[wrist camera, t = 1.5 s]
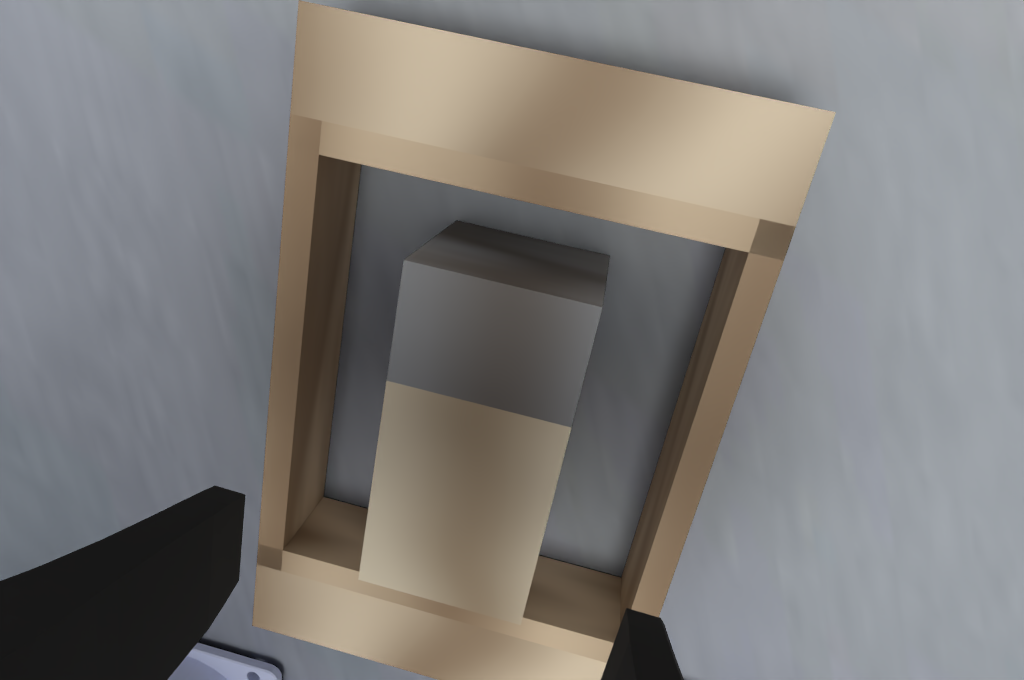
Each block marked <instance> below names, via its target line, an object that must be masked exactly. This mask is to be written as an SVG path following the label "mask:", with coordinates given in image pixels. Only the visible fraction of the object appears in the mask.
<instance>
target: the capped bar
mask: <svg viewBox="0 0 1024 680" xmlns="http://www.w3.org/2000/svg"><path fill="white" fill-rule="evenodd" d="M609 258H610V256H608V255H604V254H600V253H596V252H591V251H587V250H583V249H578V248H574V247H570V246H565V245H561V244H557V243H552V242H548V241H544V240H540V239H535V238H531V237H527V236H522V235H518V234H514V233H509V232H505V231H501V230H496V229H492V228H488V227H484V226H479V225H475V224H471V223H466V222H462V221H458V220H457V221H455V222H454V223H453V224H451V225H450V226H449V227H447V228H446V229H445V230H443V231H442V232H441V233H439V234H438V235H436V236H435V237H434V238H432V239H431V240H430V241H428V242H427V243H426V244H424V245H423V246H422V247H420V248H419V249H418V250H416V251H415V252H414V253H412V254H411V255H410V256H408V257H407V258H406V259H404V261H403V268H402V275H401V282H400V289H399V296H398V303H397V311H396V318H395V325H394V332H393V339H392V346H391V353H390V360H389V367H388V374H387V381H386V388H385V395H384V402H383V409H382V416H381V423H380V430H379V437H378V444H377V451H376V458H375V465H374V472H373V479H372V486H371V493H370V500H369V507H368V514H367V521H366V528H365V535H364V542H363V549H362V556H361V563H360V570H359V577H358V580H361V581H365V582H369V583H372V584H376V585H379V586H383V587H386V588H390V589H394V590H397V591H401V592H404V593H408V594H411V595H415V596H419V597H422V598H426V599H429V600H433V601H436V602H440V603H444V604H447V605H451V606H454V607H458V608H461V609H465V610H469V611H472V612H476V613H479V614H483V615H486V616H490V617H494V618H497V619H501V620H504V621H508V622H511V623H515V624H518V625H521V622H522V618H523V614H524V610H525V606H526V602H527V598H528V594H529V591H530V587H531V583H532V579H533V575H534V571H535V567H536V564H537V560H538V556H539V552H540V548H541V544H542V540H543V536H544V533H545V529H546V525H547V521H548V517H549V513H550V509H551V505H552V502H553V498H554V494H555V490H556V486H557V482H558V478H559V474H560V471H561V467H562V463H563V459H564V455H565V451H566V447H567V443H568V440H569V436H570V432H571V428H572V424H573V420H574V416H575V413H576V409H577V405H578V401H579V397H580V393H581V389H582V385H583V382H584V378H585V374H586V370H587V366H588V362H589V358H590V354H591V351H592V347H593V343H594V339H595V335H596V331H597V327H598V323H599V320H600V316H601V312H602V308H603V301H604V294H605V287H606V280H607V273H608V266H609Z"/></svg>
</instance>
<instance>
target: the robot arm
mask: <svg viewBox="0 0 1024 680" xmlns="http://www.w3.org/2000/svg"><path fill="white" fill-rule="evenodd" d="M244 505H245V494H241V493H238V492H234V491H231V490H228V489H224V488H221V487H218V486H213V487H211V488H209V489H206V490H204V491H202V492H200V493H198V494H196V495H194V496H192V497H190V498H187V499H185V500H183V501H181V502H179V503H177V504H175V505H173V506H171V507H169V508H167V509H165V510H163V511H161V512H159V513H157V514H155V515H153V516H151V517H149V518H147V519H145V520H142V521H140V522H138V523H136V524H134V525H132V526H130V527H128V528H126V529H124V530H121V531H119V532H117V533H115V534H113V535H111V536H109V537H107V538H104V539H102V540H100V541H98V542H95V543H93V544H91V545H88V546H86V547H84V548H81V549H79V550H77V551H74V552H72V553H70V554H67V555H65V556H63V557H60V558H58V559H56V560H53V561H51V562H49V563H46V564H44V565H42V566H39V567H36V568H34V569H31V570H29V571H26V572H24V573H21V574H18V575H16V576H13V577H10V578H8V579H5V580H2V581H0V680H282V674H281V672H280V670H279V669H278V668H277V667H276V666H274V665H272V664H269V663H266V662H262V661H259V660H255V659H252V658H249V657H245V656H242V655H239V654H235V653H232V652H228V651H225V650H222V649H218V648H215V647H211V646H208V645H205V644H201V643H198V641H199V640H200V639H201V638H202V636H203V635H204V634H205V633H206V631H207V630H208V629H209V627H210V626H211V624H212V623H213V621H214V619H215V618H216V616H217V615H218V613H219V612H220V610H221V609H222V607H223V606H224V604H225V602H226V601H227V599H228V597H229V596H230V594H231V592H232V591H233V589H234V588H235V586H236V584H237V583H238V581H239V572H240V558H241V545H242V531H243V518H244ZM601 680H684V679H683V677H682V674H681V671H680V669H679V666H678V663H677V660H676V658H675V655H674V652H673V649H672V646H671V643H670V640H669V637H668V634H667V631H666V628H665V625H664V623H663V621H662V620H661V618H659V617H656V616H652V615H649V614H645V613H642V612H639V611H635V610H632V609H629V608H626V610H625V613H624V616H623V619H622V622H621V624H620V627H619V630H618V633H617V636H616V638H615V641H614V644H613V647H612V650H611V652H610V655H609V658H608V661H607V664H606V666H605V669H604V672H603V675H602V678H601Z"/></svg>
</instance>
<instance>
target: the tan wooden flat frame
mask: <svg viewBox="0 0 1024 680" xmlns="http://www.w3.org/2000/svg"><path fill="white" fill-rule="evenodd" d="M835 113H836V112H832V111H827V110H822V109H817V108H812V107H808V106H803V105H798V104H793V103H788V102H784V101H779V100H774V99H769V98H765V97H760V96H755V95H750V94H745V93H741V92H736V91H731V90H726V89H721V88H717V87H712V86H707V85H702V84H697V83H693V82H688V81H683V80H678V79H673V78H669V77H664V76H659V75H654V74H650V73H645V72H640V71H635V70H630V69H626V68H621V67H616V66H611V65H606V64H602V63H597V62H592V61H587V60H582V59H578V58H573V57H568V56H563V55H559V54H554V53H549V52H544V51H539V50H535V49H530V48H525V47H520V46H515V45H511V44H506V43H501V42H496V41H491V40H487V39H482V38H477V37H472V36H468V35H463V34H458V33H453V32H448V31H444V30H439V29H434V28H429V27H424V26H420V25H415V24H410V23H405V22H400V21H396V20H391V19H386V18H381V17H377V16H372V15H367V14H362V13H357V12H353V11H348V10H343V9H338V8H333V7H329V6H324V5H319V4H314V3H309V2H305V1H300V0H299V4H298V18H297V31H296V44H295V58H294V71H293V85H292V98H291V112H290V125H289V138H288V152H287V165H286V179H285V192H284V206H283V219H282V232H281V246H280V259H279V273H278V286H277V300H276V313H275V326H274V340H273V353H272V367H271V380H270V394H269V407H268V420H267V434H266V447H265V461H264V474H263V488H262V501H261V514H260V528H259V541H258V555H257V568H256V582H255V595H254V608H253V622H252V626H256V627H259V628H262V629H266V630H269V631H273V632H276V633H280V634H283V635H287V636H290V637H293V638H297V639H300V640H304V641H307V642H311V643H314V644H318V645H321V646H324V647H328V648H331V649H335V650H338V651H342V652H345V653H348V654H352V655H355V656H359V657H362V658H366V659H369V660H373V661H376V662H379V663H383V664H386V665H390V666H393V667H397V668H400V669H404V670H407V671H410V672H414V673H417V674H421V675H424V676H428V677H431V678H435V679H438V680H601V678H602V675H603V672H604V669H605V666H606V664H607V661H608V658H609V655H610V652H611V650H612V647H613V644H614V641H615V638H616V636H617V633H618V630H619V627H620V624H621V622H622V619H623V616H624V613H625V610H626V608H629V609H632V610H635V611H639V612H642V613H645V614H649V615H652V616H656V617H659V615H660V612H661V609H662V606H663V603H664V600H665V598H666V595H667V592H668V589H669V586H670V583H671V581H672V578H673V575H674V572H675V569H676V566H677V563H678V561H679V558H680V555H681V552H682V549H683V546H684V543H685V541H686V538H687V535H688V532H689V529H690V526H691V524H692V521H693V518H694V515H695V512H696V509H697V506H698V504H699V501H700V498H701V495H702V492H703V489H704V486H705V484H706V481H707V478H708V475H709V472H710V469H711V467H712V464H713V461H714V458H715V455H716V452H717V449H718V447H719V444H720V441H721V438H722V435H723V432H724V429H725V427H726V424H727V421H728V418H729V415H730V412H731V410H732V407H733V404H734V401H735V398H736V395H737V392H738V390H739V387H740V384H741V381H742V378H743V375H744V372H745V370H746V367H747V364H748V361H749V358H750V355H751V353H752V350H753V347H754V344H755V341H756V338H757V335H758V333H759V330H760V327H761V324H762V321H763V318H764V315H765V313H766V310H767V307H768V304H769V301H770V298H771V296H772V293H773V290H774V287H775V284H776V281H777V278H778V276H779V273H780V270H781V267H782V264H783V261H784V258H785V256H786V253H787V250H788V247H789V244H790V241H791V239H792V236H793V233H794V230H795V227H796V224H797V221H798V219H799V216H800V213H801V210H802V207H803V204H804V201H805V199H806V196H807V193H808V190H809V187H810V184H811V182H812V179H813V176H814V173H815V170H816V167H817V164H818V162H819V159H820V156H821V153H822V150H823V147H824V144H825V142H826V139H827V136H828V133H829V130H830V127H831V125H832V122H833V119H834V116H835ZM361 164H362V165H367V166H371V167H375V168H380V169H384V170H389V171H393V172H397V173H402V174H406V175H411V176H415V177H419V178H424V179H428V180H432V181H437V182H441V183H446V184H450V185H454V186H459V187H463V188H468V189H472V190H476V191H481V192H485V193H489V194H494V195H498V196H503V197H507V198H511V199H516V200H520V201H525V202H529V203H533V204H538V205H542V206H547V207H551V208H555V209H560V210H564V211H568V212H573V213H577V214H582V215H586V216H590V217H595V218H599V219H604V220H608V221H612V222H617V223H621V224H626V225H630V226H634V227H639V228H643V229H647V230H652V231H656V232H661V233H665V234H669V235H674V236H678V237H683V238H687V239H691V240H696V241H700V242H704V243H709V244H713V245H718V246H722V247H726V249H725V252H724V255H723V258H722V261H721V264H720V268H719V271H718V274H717V277H716V280H715V283H714V287H713V290H712V293H711V296H710V299H709V302H708V305H707V309H706V312H705V315H704V318H703V321H702V324H701V328H700V331H699V334H698V337H697V340H696V343H695V347H694V350H693V353H692V356H691V359H690V362H689V365H688V369H687V372H686V375H685V378H684V381H683V384H682V388H681V391H680V394H679V397H678V400H677V403H676V406H675V410H674V413H673V416H672V419H671V422H670V425H669V429H668V432H667V435H666V438H665V441H664V444H663V447H662V451H661V454H660V457H659V460H658V463H657V466H656V470H655V473H654V476H653V479H652V482H651V485H650V489H649V492H648V495H647V498H646V501H645V504H644V507H643V511H642V514H641V517H640V520H639V523H638V526H637V530H636V533H635V536H634V539H633V542H632V545H631V548H630V552H629V555H628V558H627V561H626V564H625V567H624V571H623V574H622V577H621V578H620V577H617V576H613V575H609V574H606V573H602V572H598V571H595V570H591V569H587V568H584V567H580V566H576V565H572V564H569V563H565V562H561V561H558V560H554V559H550V558H547V557H543V556H538V560H537V564H536V567H535V571H534V575H533V579H532V583H531V587H530V591H529V594H528V598H527V602H526V606H525V610H524V614H523V618H522V622H521V625H518V624H515V623H511V622H508V621H504V620H501V619H497V618H494V617H490V616H486V615H483V614H479V613H476V612H472V611H469V610H465V609H461V608H458V607H454V606H451V605H447V604H444V603H440V602H436V601H433V600H429V599H426V598H422V597H419V596H415V595H411V594H408V593H404V592H401V591H397V590H394V589H390V588H386V587H383V586H379V585H376V584H372V583H369V582H365V581H361V580H358V577H359V570H360V563H361V556H362V549H363V542H364V535H365V528H366V521H367V514H368V509H366V508H362V507H359V506H355V505H351V504H348V503H344V502H340V501H337V500H333V499H329V498H326V497H324V488H325V479H326V470H327V462H328V453H329V444H330V435H331V426H332V418H333V409H334V400H335V391H336V382H337V373H338V365H339V356H340V347H341V338H342V329H343V320H344V312H345V303H346V294H347V285H348V276H349V267H350V259H351V250H352V241H353V232H354V223H355V215H356V206H357V197H358V188H359V179H360V170H361Z"/></svg>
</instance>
